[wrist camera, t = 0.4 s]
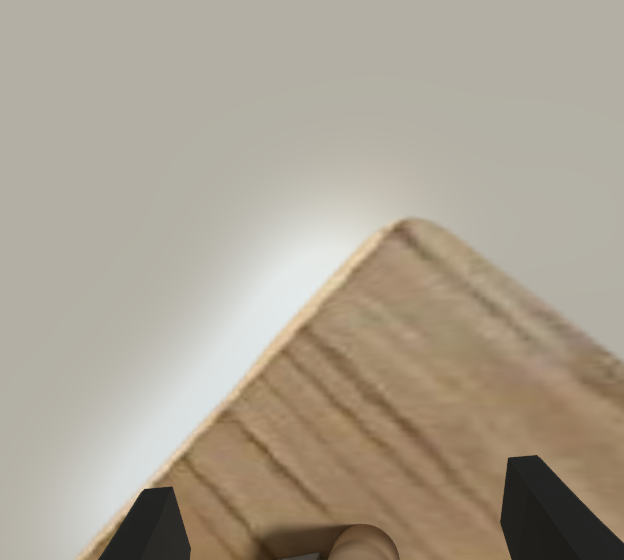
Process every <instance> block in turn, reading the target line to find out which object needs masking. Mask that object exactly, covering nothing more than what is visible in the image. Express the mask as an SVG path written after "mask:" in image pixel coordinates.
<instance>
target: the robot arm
mask: <svg viewBox="0 0 624 560" xmlns="http://www.w3.org/2000/svg"><path fill="white" fill-rule="evenodd" d="M500 523H501V526H502V530H503V533H504V536H505V540H506V543H507V546H508V550H509V553H510V556H511V559H512V560H624V543H623V542H622V541H621V540H620V539H619V538H618V537H617V536H616V535H615V534H614V533H613V532H612V531H611V530H610V529H609V528H608V527H607V526H606V525H604V524H603V523H602V522H601V521H600V520H599V519H598V518H597V517H596V516H595V515H594V514H593V513H592V512H591V511H590V509H589V508H588V507H587V506H586V505H585V504H584V503H583V502H582V501H581V500H580V499H579V498H578V497H577V496H576V495H575V494H574V493H573V492H572V491H571V490H570V489H569V488H568V487H567V486H566V485H565V484H564V483H563V481H562V480H561V479H560V478H559V477H558V476H557V475H556V474H555V473H554V472H553V471H552V470H551V469H550V468H549V467H548V466H547V464H546V463H545V462H544V461H543V460H542V459H541V458H540V457H538V456H537V455H534V456H522V457H510V458H508V463H507V471H506V479H505V488H504V496H503V504H502V512H501V520H500ZM190 552H191V547H190V544H189V541H188V537H187V534H186V531H185V527H184V524H183V520H182V517H181V514H180V510H179V507H178V504H177V500H176V497H175V493H174V490H173V487H163V488H151V489H144V490H143V491H142V492H141V493H140V495H139V496H138V498H137V500H136V501H135V503H134V505H133V506H132V508H131V509H130V511H129V513H128V514H127V516H126V517H125V519H124V521H123V522H122V524H121V525H120V527H119V529H118V530H117V532H116V533H115V535H114V536H113V538H112V539H111V541H110V543H109V544H108V546H107V547H106V549H105V550H104V552H103V553H102V555H101V556H100V558H99V559H98V560H190Z"/></svg>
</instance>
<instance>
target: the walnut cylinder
mask: <svg viewBox="0 0 624 560" xmlns="http://www.w3.org/2000/svg"><path fill="white" fill-rule="evenodd" d="M328 560H399V554H398V551H397V548H396V546H395V544H394V542H393V541H392V539H391V538H390V537H389V536H388V535H387V534H386V533H385V532H384V531H382V530H381V529H379V528H377V527H375V526H372V525H367V524H359V525H354V526H351V527H349V528H347V529H346V530H344V531H343V532H342V533H341V534H340V535H339V536H338V538H337V539H336V541H335V543H334V546H333V548H332V550H331V553H330V555H329V557H328Z"/></svg>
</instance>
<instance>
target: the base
mask: <svg viewBox="0 0 624 560" xmlns="http://www.w3.org/2000/svg"><path fill="white" fill-rule="evenodd" d="M278 560H321V557H320V552H318V553H312V554H307V555H301V556H295V557H290V558H284V559H278Z"/></svg>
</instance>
